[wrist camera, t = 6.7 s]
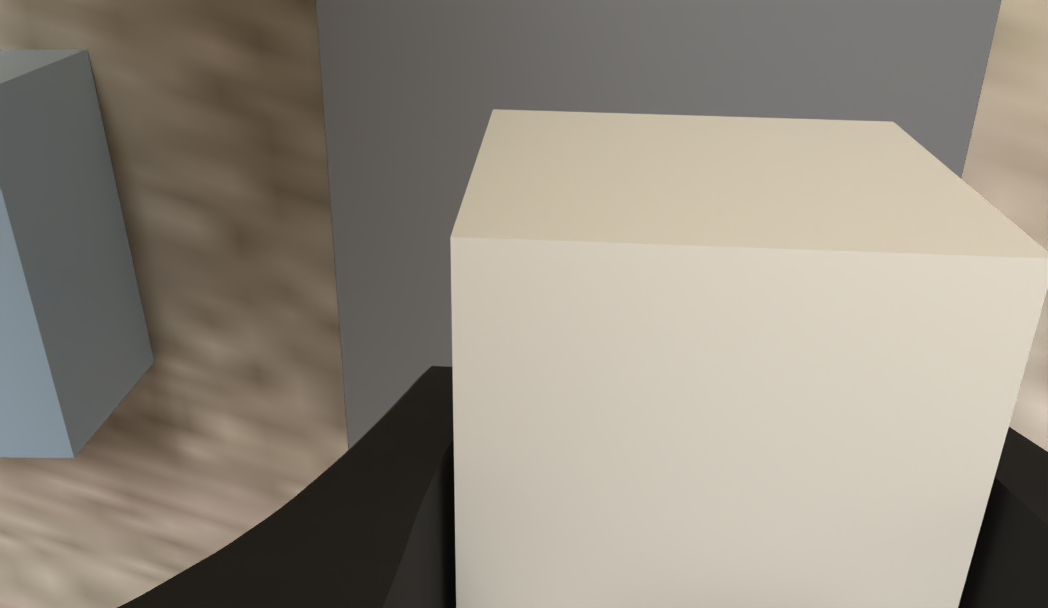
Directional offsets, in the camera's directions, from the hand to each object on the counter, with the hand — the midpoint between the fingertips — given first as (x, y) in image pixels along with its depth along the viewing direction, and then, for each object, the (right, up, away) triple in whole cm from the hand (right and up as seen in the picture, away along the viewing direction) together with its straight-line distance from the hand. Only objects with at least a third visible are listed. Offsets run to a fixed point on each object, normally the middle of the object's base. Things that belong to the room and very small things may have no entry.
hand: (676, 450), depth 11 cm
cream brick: (0, +1, +1) cm, 1 cm away
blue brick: (-12, +4, +9) cm, 16 cm away
